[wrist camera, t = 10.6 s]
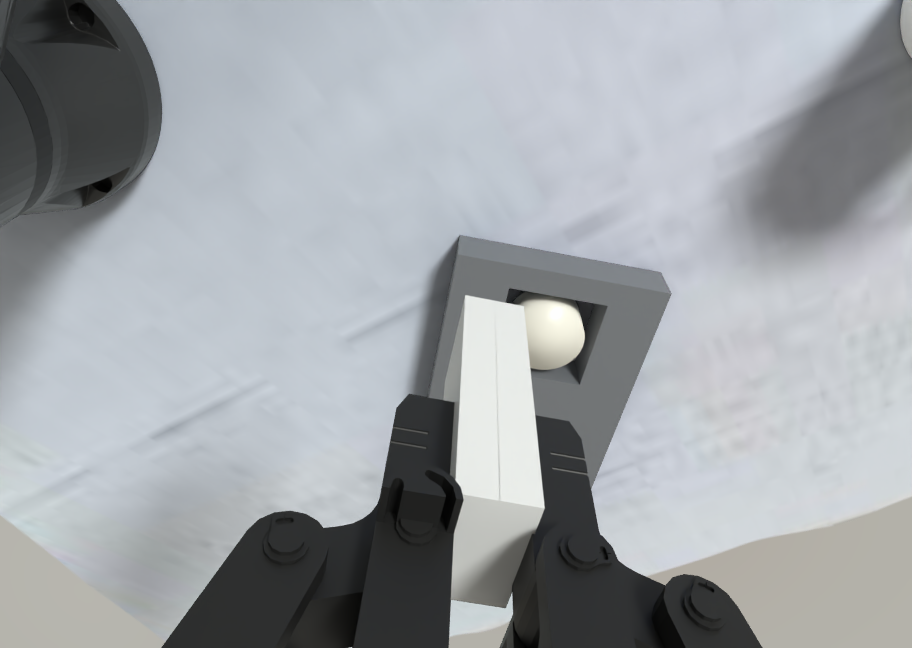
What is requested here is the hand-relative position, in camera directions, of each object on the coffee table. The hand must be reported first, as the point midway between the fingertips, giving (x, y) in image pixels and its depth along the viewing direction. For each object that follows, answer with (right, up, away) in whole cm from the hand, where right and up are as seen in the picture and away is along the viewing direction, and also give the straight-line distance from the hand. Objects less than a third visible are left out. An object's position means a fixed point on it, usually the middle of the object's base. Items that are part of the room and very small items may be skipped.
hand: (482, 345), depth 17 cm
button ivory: (+5, +1, +29) cm, 30 cm away
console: (+4, -7, +35) cm, 36 cm away
